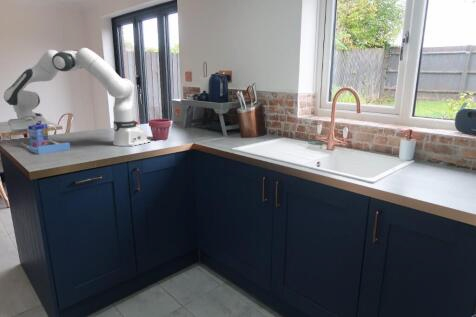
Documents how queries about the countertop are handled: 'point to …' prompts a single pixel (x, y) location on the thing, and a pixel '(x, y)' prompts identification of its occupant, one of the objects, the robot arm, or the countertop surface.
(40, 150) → the light blue tray
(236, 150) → the countertop surface
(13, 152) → the countertop surface
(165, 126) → the plant pot
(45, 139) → the ink cartridge box
